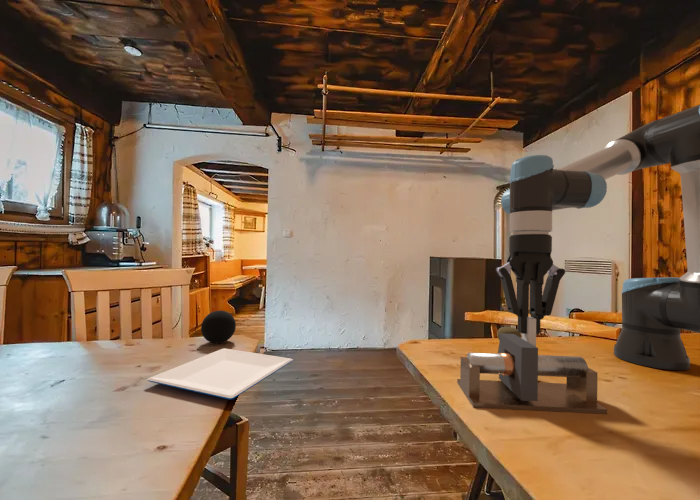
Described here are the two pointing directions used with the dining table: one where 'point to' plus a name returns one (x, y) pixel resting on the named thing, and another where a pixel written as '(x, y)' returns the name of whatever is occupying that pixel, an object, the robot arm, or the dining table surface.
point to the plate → (222, 372)
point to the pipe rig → (550, 395)
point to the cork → (507, 332)
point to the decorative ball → (218, 326)
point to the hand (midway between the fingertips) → (528, 349)
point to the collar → (521, 367)
